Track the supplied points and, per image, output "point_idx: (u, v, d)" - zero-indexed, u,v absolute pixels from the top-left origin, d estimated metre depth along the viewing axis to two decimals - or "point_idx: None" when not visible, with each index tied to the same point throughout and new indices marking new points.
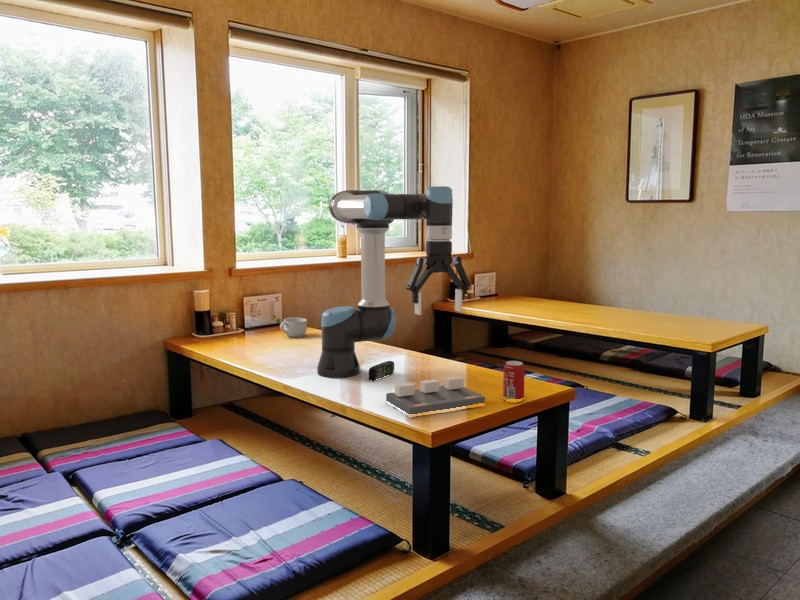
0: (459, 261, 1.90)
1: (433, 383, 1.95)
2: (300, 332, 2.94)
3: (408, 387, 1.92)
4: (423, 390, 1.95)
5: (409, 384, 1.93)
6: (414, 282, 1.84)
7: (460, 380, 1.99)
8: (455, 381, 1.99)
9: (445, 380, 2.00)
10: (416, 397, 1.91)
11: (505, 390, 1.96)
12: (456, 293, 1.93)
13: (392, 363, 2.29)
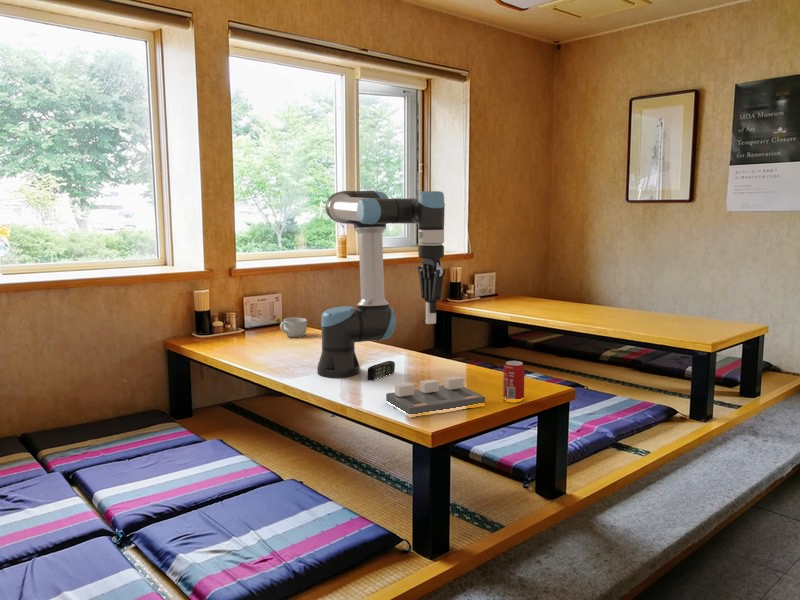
0: (436, 273, 1.86)
1: (433, 383, 1.95)
2: (300, 332, 2.94)
3: (408, 387, 1.92)
4: (423, 390, 1.95)
5: (409, 384, 1.93)
6: (421, 290, 1.95)
7: (460, 380, 1.99)
8: (455, 381, 1.99)
9: (445, 380, 2.00)
10: (416, 397, 1.91)
11: (505, 390, 1.96)
12: None
13: (392, 363, 2.29)
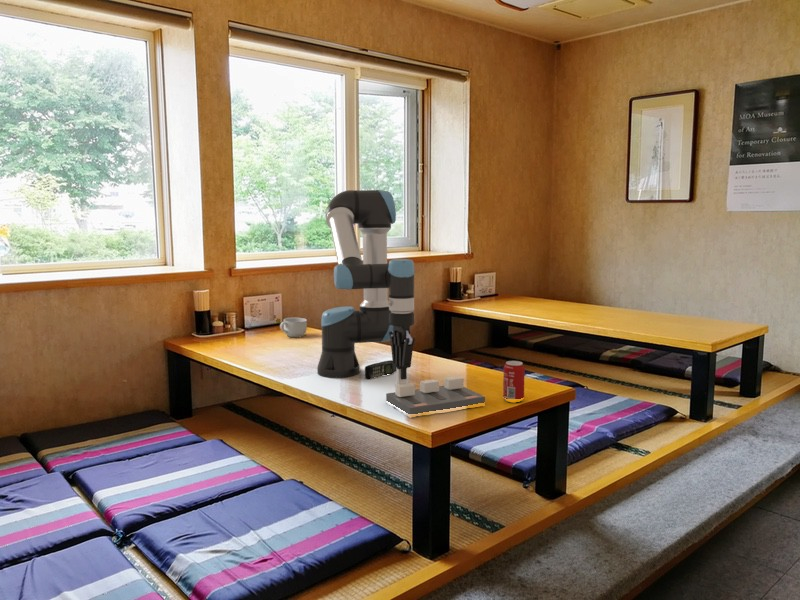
0: (405, 342, 1.87)
1: (433, 383, 1.95)
2: (300, 332, 2.94)
3: (409, 387, 1.91)
4: (423, 390, 1.95)
5: (410, 384, 1.93)
6: (393, 355, 1.96)
7: (460, 380, 1.99)
8: (455, 381, 1.99)
9: (445, 380, 2.00)
10: (416, 397, 1.91)
11: (505, 390, 1.96)
12: None
13: None
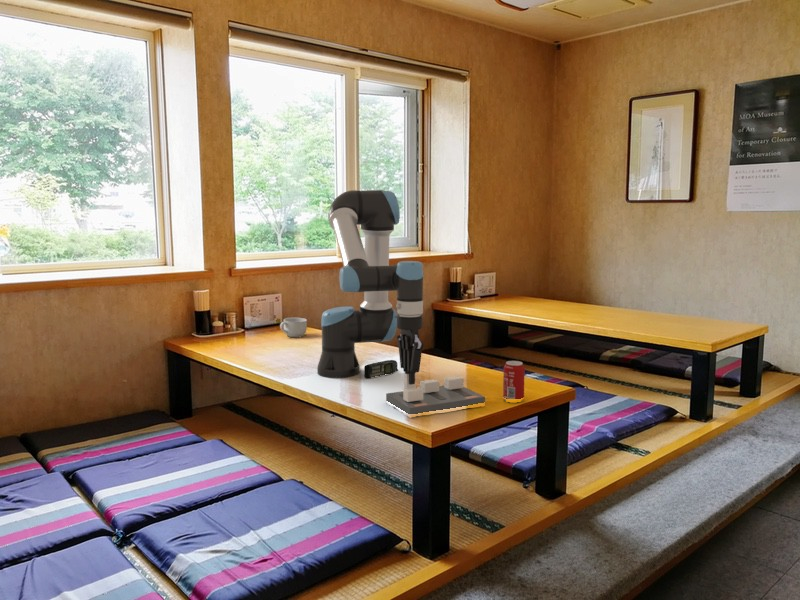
0: (414, 346, 1.83)
1: (433, 383, 1.95)
2: (300, 332, 2.94)
3: (417, 392, 1.87)
4: (423, 390, 1.95)
5: (418, 389, 1.88)
6: (400, 359, 1.91)
7: (460, 380, 1.99)
8: (455, 381, 1.99)
9: (445, 380, 2.00)
10: None
11: (505, 390, 1.96)
12: None
13: (394, 362, 2.30)
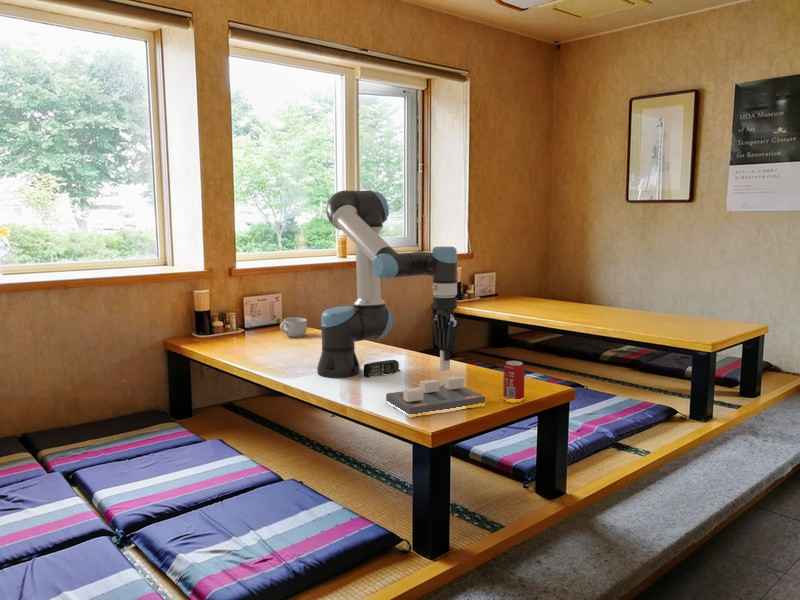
0: (450, 324, 1.98)
1: (433, 383, 1.95)
2: (300, 332, 2.94)
3: (417, 392, 1.87)
4: (423, 390, 1.95)
5: (418, 389, 1.88)
6: (436, 338, 2.06)
7: (460, 380, 1.99)
8: (455, 381, 1.99)
9: (445, 380, 2.00)
10: None
11: (505, 390, 1.96)
12: None
13: (395, 362, 2.30)
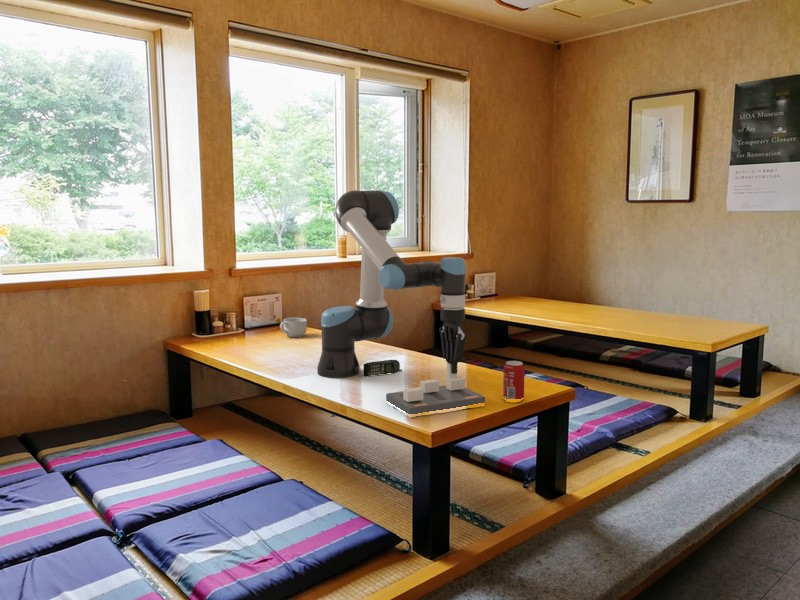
0: (457, 337, 1.94)
1: (433, 383, 1.95)
2: (300, 332, 2.94)
3: (417, 392, 1.87)
4: (423, 390, 1.95)
5: (418, 389, 1.88)
6: (443, 350, 2.02)
7: (462, 381, 1.98)
8: (457, 382, 1.98)
9: (447, 381, 1.99)
10: None
11: (505, 390, 1.96)
12: None
13: (395, 362, 2.30)
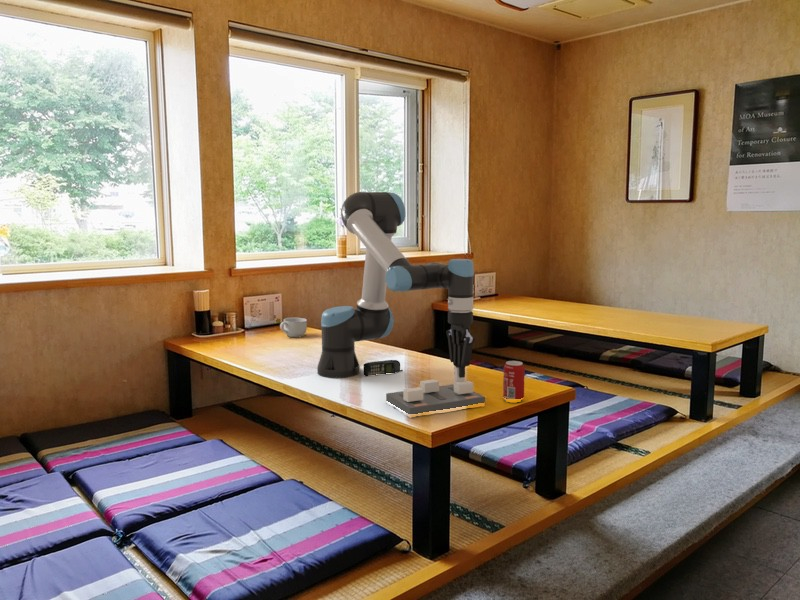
0: (465, 341, 1.90)
1: (433, 383, 1.95)
2: (300, 332, 2.94)
3: (417, 392, 1.87)
4: (423, 390, 1.95)
5: (418, 389, 1.88)
6: (450, 353, 1.98)
7: (470, 384, 1.94)
8: (465, 386, 1.94)
9: (454, 384, 1.95)
10: None
11: (505, 390, 1.96)
12: None
13: (396, 362, 2.31)
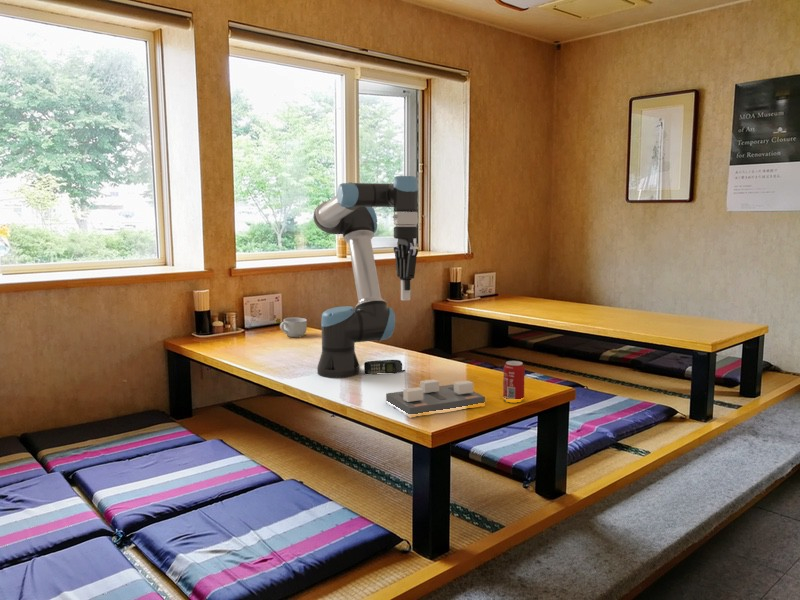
0: (409, 253, 1.99)
1: (433, 383, 1.95)
2: (300, 332, 2.94)
3: (417, 392, 1.87)
4: (423, 390, 1.95)
5: (418, 389, 1.88)
6: (397, 269, 2.08)
7: (470, 385, 1.94)
8: (465, 386, 1.94)
9: (454, 384, 1.95)
10: None
11: (505, 390, 1.96)
12: None
13: (397, 362, 2.31)
